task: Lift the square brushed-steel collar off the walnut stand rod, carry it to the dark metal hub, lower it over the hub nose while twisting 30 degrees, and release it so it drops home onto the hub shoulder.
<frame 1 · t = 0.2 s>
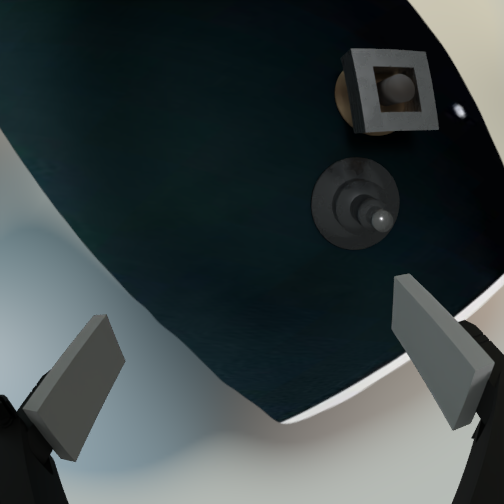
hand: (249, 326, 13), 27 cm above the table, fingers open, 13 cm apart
stand: (372, 97, 35), on the table
collar: (384, 93, 31), point 4 cm above the table, touching stand
hub: (356, 203, 39), on the table
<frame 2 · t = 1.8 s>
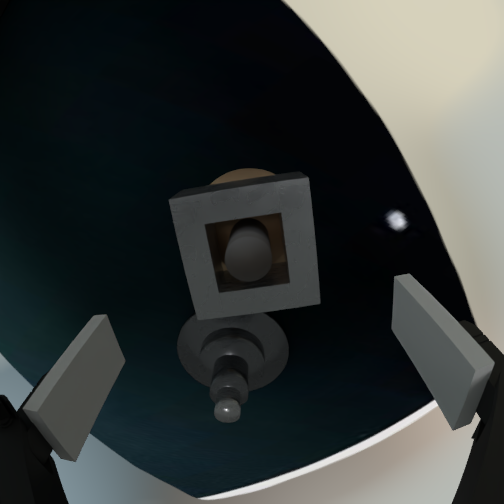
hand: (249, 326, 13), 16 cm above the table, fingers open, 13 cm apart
stand: (249, 223, 29), on the table
collar: (249, 236, 25), point 4 cm above the table, touching stand
hub: (232, 350, 33), on the table
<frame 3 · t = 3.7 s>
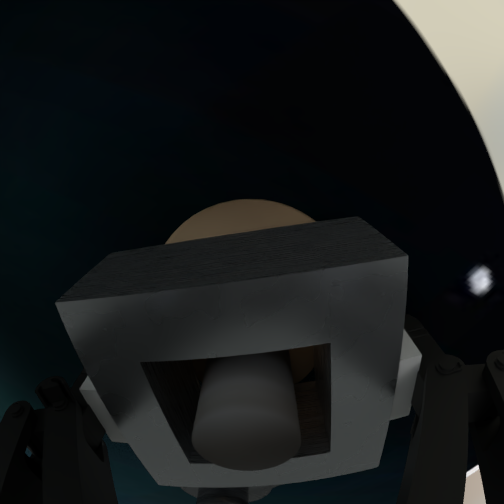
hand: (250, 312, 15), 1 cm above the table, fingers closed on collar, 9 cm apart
stand: (250, 298, 16), on the table
collar: (249, 343, 12), point 4 cm above the table, touching gripper, stand
hub: (226, 455, 21), on the table
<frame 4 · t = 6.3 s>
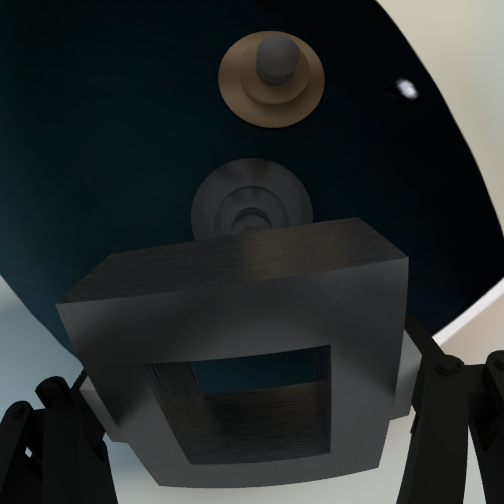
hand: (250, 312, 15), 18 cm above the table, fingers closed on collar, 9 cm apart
stand: (271, 78, 27), on the table
collar: (249, 344, 12), point 21 cm above the table, touching gripper
hub: (251, 218, 32), on the table
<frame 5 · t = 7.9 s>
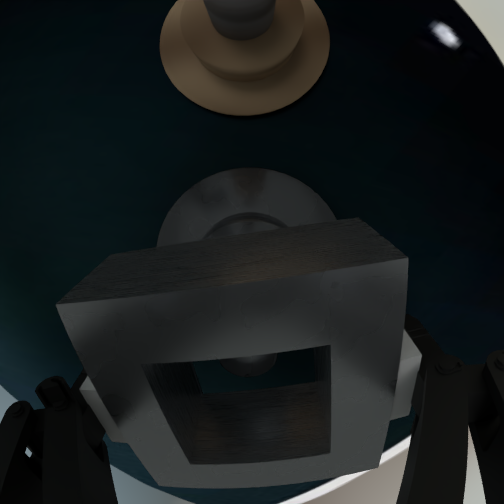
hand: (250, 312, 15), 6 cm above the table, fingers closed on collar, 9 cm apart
stand: (244, 38, 16), on the table
collar: (249, 345, 12), point 9 cm above the table, touching gripper
hub: (250, 262, 20), on the table
when the fingers open (2 cm above the table, at t = 9.3 s): collar drops 1 cm, resting on hub.
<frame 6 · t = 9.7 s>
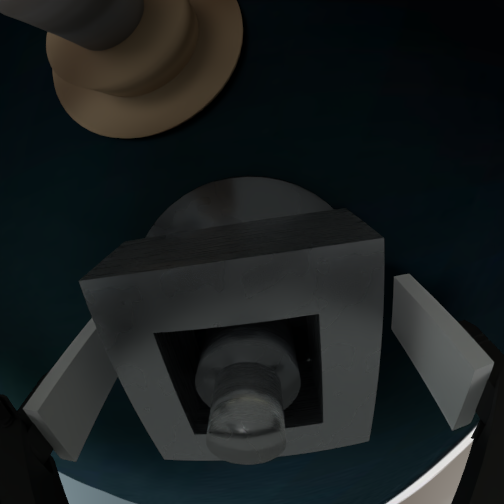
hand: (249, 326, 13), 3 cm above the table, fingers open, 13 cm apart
stand: (140, 42, 12), on the table
collar: (249, 324, 14), point 3 cm above the table, touching hub
hub: (250, 293, 17), on the table
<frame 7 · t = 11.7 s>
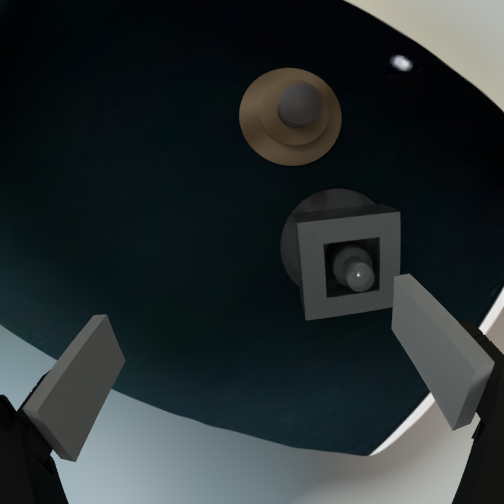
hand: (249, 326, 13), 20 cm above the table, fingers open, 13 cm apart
stand: (290, 116, 29), on the table
collar: (342, 253, 30), point 3 cm above the table, touching hub
hub: (336, 244, 33), on the table
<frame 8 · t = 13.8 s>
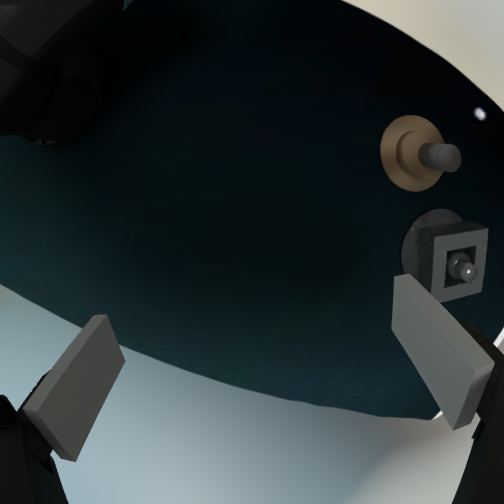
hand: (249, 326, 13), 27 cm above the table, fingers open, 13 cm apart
stand: (413, 153, 36), on the table
collar: (445, 256, 37), point 3 cm above the table, touching hub
hub: (435, 248, 40), on the table
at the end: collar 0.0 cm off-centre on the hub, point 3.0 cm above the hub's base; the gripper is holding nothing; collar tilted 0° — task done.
